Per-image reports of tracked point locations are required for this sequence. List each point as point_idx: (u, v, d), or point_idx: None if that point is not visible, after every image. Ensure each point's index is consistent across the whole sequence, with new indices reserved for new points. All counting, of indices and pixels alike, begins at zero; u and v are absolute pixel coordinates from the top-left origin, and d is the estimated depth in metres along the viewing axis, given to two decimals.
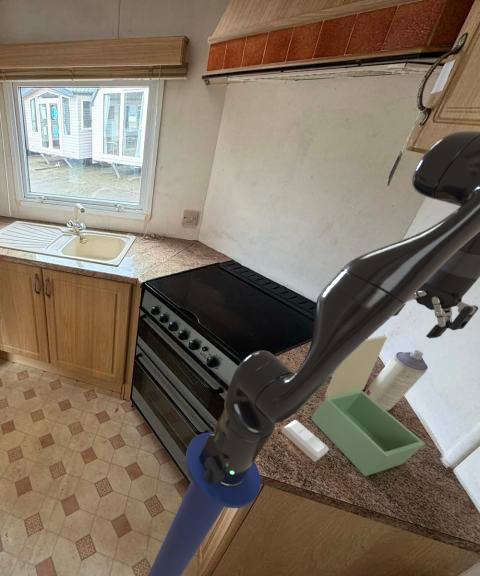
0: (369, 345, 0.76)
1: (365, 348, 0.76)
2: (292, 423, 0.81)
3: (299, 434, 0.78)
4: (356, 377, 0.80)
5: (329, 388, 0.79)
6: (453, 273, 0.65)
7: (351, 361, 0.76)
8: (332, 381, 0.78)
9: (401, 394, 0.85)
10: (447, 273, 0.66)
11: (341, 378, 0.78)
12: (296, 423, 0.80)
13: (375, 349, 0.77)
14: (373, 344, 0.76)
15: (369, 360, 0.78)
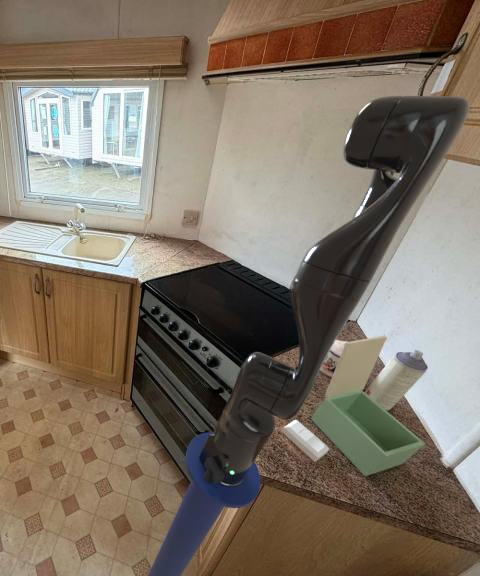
0: (369, 345, 0.76)
1: (365, 348, 0.76)
2: (292, 423, 0.81)
3: (300, 434, 0.78)
4: (356, 377, 0.80)
5: (329, 388, 0.79)
6: None
7: (351, 361, 0.76)
8: (332, 381, 0.78)
9: (401, 394, 0.85)
10: None
11: (341, 378, 0.78)
12: (296, 423, 0.80)
13: (375, 349, 0.77)
14: (373, 344, 0.76)
15: (369, 360, 0.78)
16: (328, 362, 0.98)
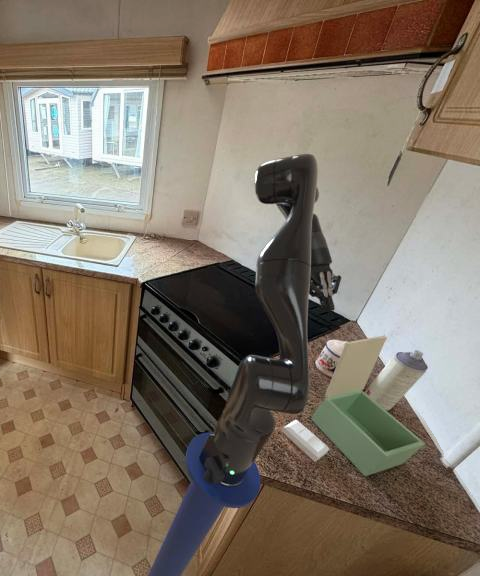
0: (369, 345, 0.76)
1: (365, 348, 0.76)
2: (292, 423, 0.81)
3: (300, 434, 0.78)
4: (356, 377, 0.80)
5: (329, 388, 0.79)
6: None
7: (351, 361, 0.76)
8: (332, 381, 0.78)
9: (401, 394, 0.85)
10: None
11: (341, 378, 0.78)
12: (296, 423, 0.80)
13: (375, 349, 0.77)
14: (373, 344, 0.76)
15: (369, 360, 0.78)
16: (328, 362, 0.98)
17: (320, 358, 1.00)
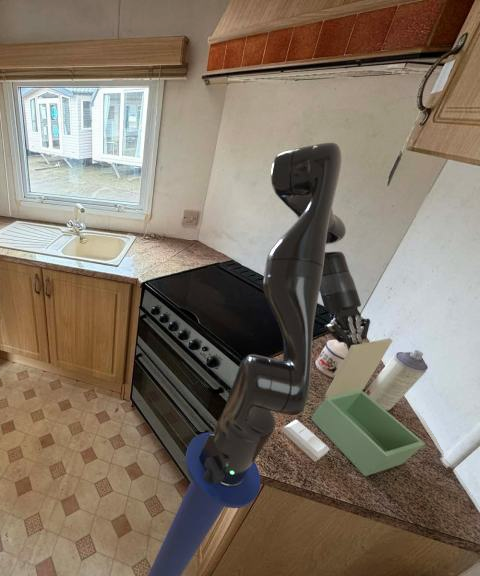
0: (374, 348, 0.75)
1: (370, 351, 0.75)
2: (293, 423, 0.81)
3: (300, 434, 0.78)
4: (358, 378, 0.79)
5: (330, 389, 0.79)
6: None
7: (354, 363, 0.76)
8: (333, 382, 0.78)
9: (401, 394, 0.85)
10: None
11: (343, 379, 0.78)
12: (297, 423, 0.80)
13: (379, 352, 0.76)
14: (378, 347, 0.75)
15: (372, 362, 0.78)
16: (328, 362, 0.98)
17: (320, 358, 1.00)
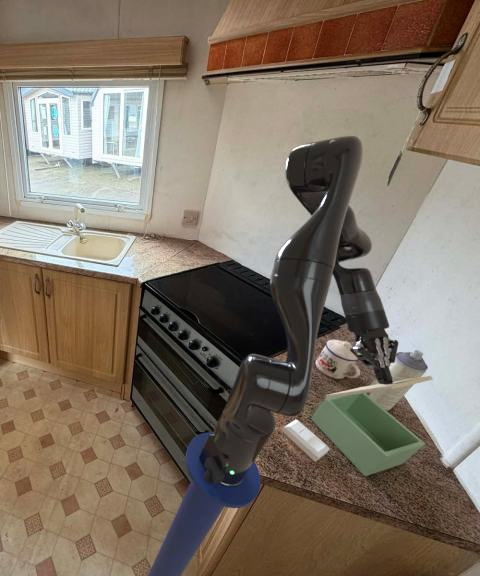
0: None
1: None
2: (293, 423, 0.81)
3: (300, 434, 0.78)
4: None
5: (335, 395, 0.78)
6: None
7: None
8: (343, 394, 0.76)
9: (401, 394, 0.85)
10: None
11: None
12: (297, 423, 0.80)
13: None
14: None
15: None
16: (328, 362, 0.98)
17: (320, 358, 1.00)
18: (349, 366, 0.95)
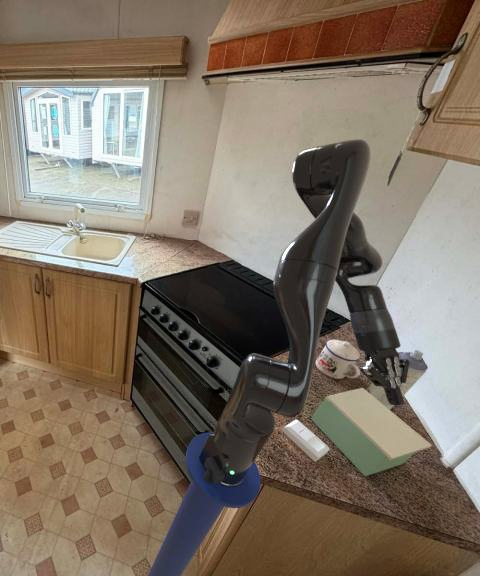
0: None
1: None
2: (293, 423, 0.81)
3: (300, 434, 0.78)
4: None
5: (335, 406, 0.78)
6: None
7: None
8: (343, 413, 0.76)
9: None
10: None
11: None
12: (297, 423, 0.80)
13: None
14: None
15: None
16: (328, 362, 0.98)
17: (320, 358, 1.00)
18: (349, 366, 0.95)
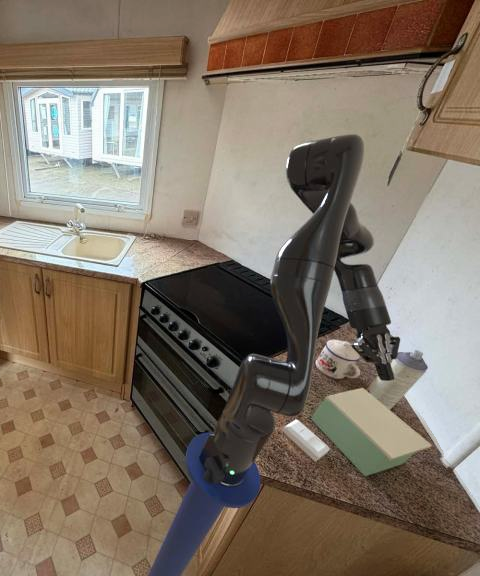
0: None
1: None
2: (293, 422, 0.81)
3: (300, 434, 0.78)
4: None
5: (335, 406, 0.78)
6: None
7: None
8: (343, 413, 0.76)
9: (401, 394, 0.85)
10: None
11: None
12: (297, 423, 0.80)
13: None
14: None
15: None
16: (328, 362, 0.98)
17: (320, 358, 1.00)
18: (349, 366, 0.95)
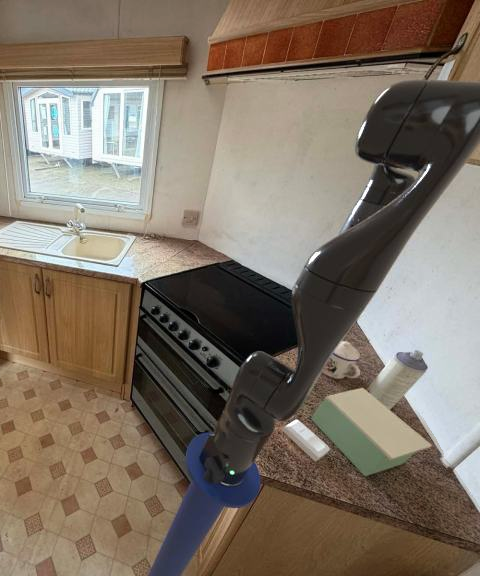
0: None
1: None
2: (293, 422, 0.81)
3: (300, 434, 0.78)
4: None
5: (335, 406, 0.78)
6: None
7: None
8: (343, 413, 0.76)
9: (401, 394, 0.85)
10: None
11: None
12: (297, 422, 0.81)
13: None
14: None
15: None
16: (328, 362, 0.98)
17: None
18: (349, 366, 0.95)
